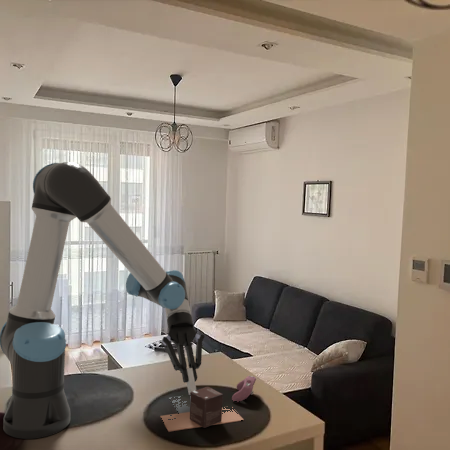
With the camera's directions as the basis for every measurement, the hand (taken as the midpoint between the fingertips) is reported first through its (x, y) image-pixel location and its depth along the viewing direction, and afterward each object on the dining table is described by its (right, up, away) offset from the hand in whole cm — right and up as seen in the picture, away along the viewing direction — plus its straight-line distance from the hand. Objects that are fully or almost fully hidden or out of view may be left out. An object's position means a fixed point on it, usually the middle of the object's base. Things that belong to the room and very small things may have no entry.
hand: (192, 392), depth 127 cm
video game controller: (+14, -4, +8) cm, 17 cm away
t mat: (+1, -4, -3) cm, 5 cm away
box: (+4, -4, -9) cm, 10 cm away
